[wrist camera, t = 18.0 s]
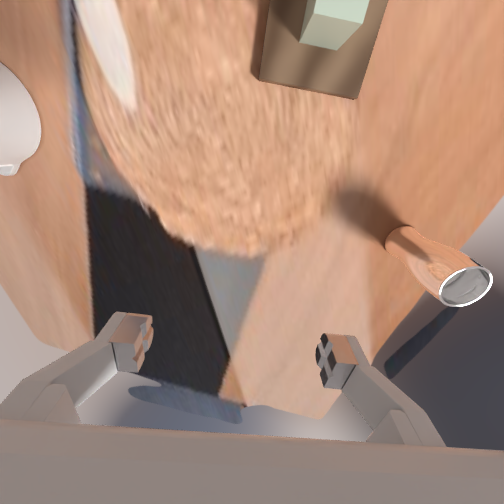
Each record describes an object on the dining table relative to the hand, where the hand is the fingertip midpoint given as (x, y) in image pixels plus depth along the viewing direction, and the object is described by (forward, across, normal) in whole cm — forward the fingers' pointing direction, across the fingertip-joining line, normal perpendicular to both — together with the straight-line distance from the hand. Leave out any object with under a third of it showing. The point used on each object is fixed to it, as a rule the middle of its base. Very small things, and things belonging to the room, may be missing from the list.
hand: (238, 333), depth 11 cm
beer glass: (+31, -30, +6) cm, 44 cm away
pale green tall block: (+31, -7, -21) cm, 38 cm away
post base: (+32, -7, -21) cm, 39 cm away
